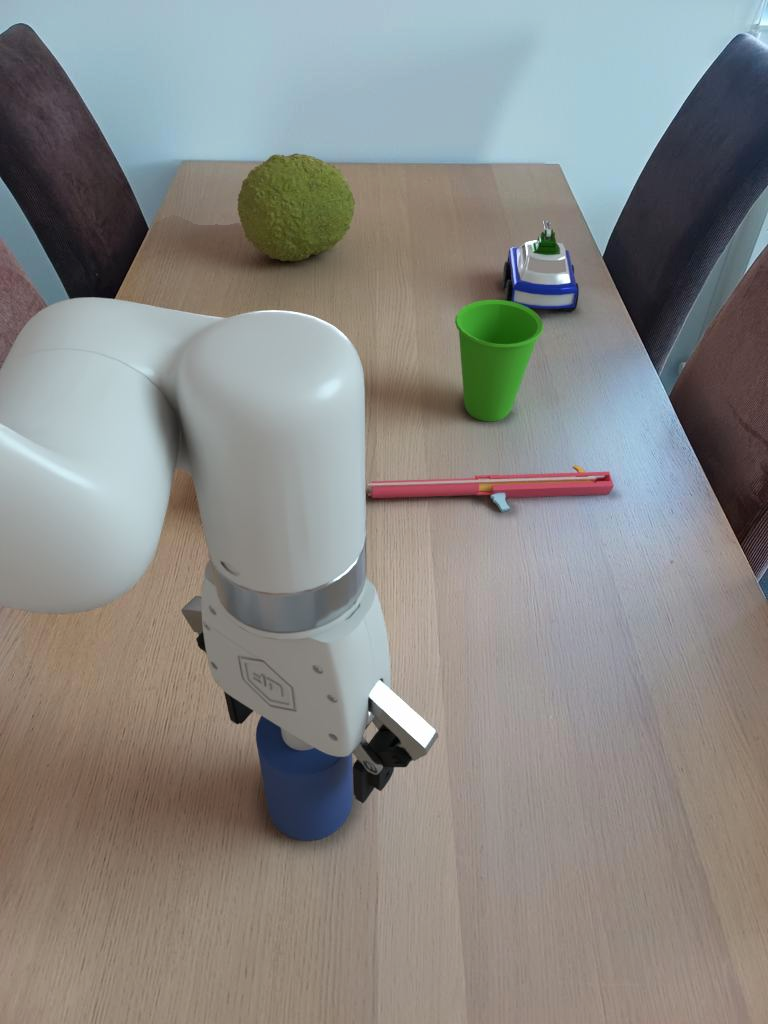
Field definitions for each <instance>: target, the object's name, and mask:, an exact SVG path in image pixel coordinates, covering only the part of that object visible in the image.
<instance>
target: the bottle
mask: <svg viewBox="0 0 768 1024" xmlns="http://www.w3.org/2000/svg"><path fill="white" fill-rule="evenodd" d="M255 743H256V749H257V756H258V759H259V766H260V772H261V778H262V784H263V789H264V790H263V791H264V796H265V801H266V807H267V811H268V815H269V818H270V820H271V821H272V823H273V825H274V826H275V827H276V828H277V830H278V831H280V832H281V833H282V834H283V835H285V836H287V837H289V838H292V839H295V840H298V841H303V842H304V841H307V842H309V841H310V842H311V841H317V840H321V839H324V838H327V837H329V836H331V835H333V834H334V833H335V832H337V831H338V830H339V829H340V828H341V827H342V826H343V825H344V824H345V823H346V821H347V820H348V818H349V816H350V813H351V811H352V808H353V802H354V788H353V765H354V762H353V753H351V754H350V755H349V756H345V757H337V756H332V755H329V754H326V753H324V752H322V751H320V750H318V749H316V748H314V747H313V746H311V745H309V744H307V743H306V742H304V741H302V740H301V739H299V738H297V737H296V736H294V735H292V734H291V733H289V732H287V731H286V730H284V729H282V728H281V727H279V726H278V725H276V724H274V723H273V722H271V721H269V720H268V719H266V718H265V717H263V716H261V715H260V718H259V719H258V721H257V724H256V729H255Z"/></svg>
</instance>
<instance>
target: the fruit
mask: <svg viewBox="0 0 768 1024" xmlns="http://www.w3.org/2000/svg"><path fill="white" fill-rule="evenodd" d="M350 187H351V186H350V184H349V182H348V181H347V178H346V176H345V175H344V174H343V173H342V172H341V169H339V168H337V167H336V166H335V165H334V164H330V162H329V163H328V162H325V161H324V160H323V161H322V159H320V158H317V157H315V156H313V155H307V154H302V153H297V152H296V153H293V154H289V155H285V154H282V155H281V154H272V155H270V156H269V157H268V158H267V159H266V160H265V161H262V163H261V164H260V165H258V166H255V167H254V168H253V169H251V170H250V171H249V173H248V174H247V176H246V178H244V180H242V184H241V187H240V188H241V189H240V190H239V193H238V195H237V197H238V198H237V212H238V213H237V215H238V216H239V222H240V224H241V227H242V229H243V232H244V235H245V238H246V239H248V242H250V243H251V244H252V245H253V246H254V247H255V248H257V249H258V251H260V252H262V253H263V254H265V255H268V257H269V258H270V259H273V260H280V261H282V262H287V261H289V262H291V263H292V262H298V261H299V262H300V261H302V260H305V259H308V258H309V257H310V256H312V255H314V256H318V255H320V254H321V253H325V252H327V251H330V250H332V249H333V248H334V247H335V246H336V245H337V244H338V243H339V242H340V241H342V240H343V239H344V236H345V235H346V234H347V231H349V230H350V228H351V227H350V225H351V223H352V220H353V216H354V211H355V205H356V202H355V198H354V195H353V191H352V190H351V188H350Z"/></svg>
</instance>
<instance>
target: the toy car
mask: <svg viewBox="0 0 768 1024" xmlns="http://www.w3.org/2000/svg"><path fill="white" fill-rule="evenodd" d="M542 225H543V228H544V229H543V231H541V233H540V235H539V236H537V240H530V241H526V242H524V243H523V244H521V245H520V246H515V247H511V248H509V250H508V253H507V254H508V255H507V259H506V260H505V262H504V265H503V271H502V287H503V288H502V289H504V301H511V302H515V303H518V304H521V305H523V306H526V307H528V308H533V309H543V310H545V309H547V310H548V309H552V310H553V309H554V310H555V309H556V311H570V312H573V311H575V310H576V309H577V306H578V302H579V293H580V292H579V291H580V290H579V289H580V288H579V284H578V283H577V281H576V277H575V267H574V264H572V259H571V255H570V251H569V250H568V249H566V248H565V246H564V244H563V243H561V242H558V241H557V239H556V232H554V229H553V228H551V220H547V221H546V220H543V221H542Z"/></svg>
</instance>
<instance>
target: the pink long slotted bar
mask: <svg viewBox="0 0 768 1024" xmlns="http://www.w3.org/2000/svg"><path fill="white" fill-rule="evenodd" d="M572 470H574V471H576V472H553V473H526V474H525V473H524V474H483V475H481V474H480V475H479V474H478V475H474V477H467V478H465V477H464V478H437V479H436V478H435V479H434V478H433V479H432V478H431V479H406V480H404V479H403V480H399V479H398V480H372V481H371V482H370V483H369V482H368V483H367V484H368V486H367V487H368V488H371V489H370V490H371V492H368V493H367V497H371V499H391V498H420V497H421V498H423V497H425V498H426V497H450V496H451V497H453V496H454V497H455V496H477V497H478V496H489V498H490V499H492V503H494V504H495V505H496V506H497V507H498V509H499V511H500V512H502V513H503V512H508V511H509V510H510V508H511V507H510V506H509V505H508V503H507V501H506V499H512V498H513V499H515V498H542V497H543V498H544V497H546V498H547V497H570V496H574V497H575V496H597V495H600V496H601V495H610V493H611V491H612V490H613V488H614V481H613V479H612V476H611V473H610V471H586V470H585V469H584V468H583V467H582V466H579V465H573V466H572Z"/></svg>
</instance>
